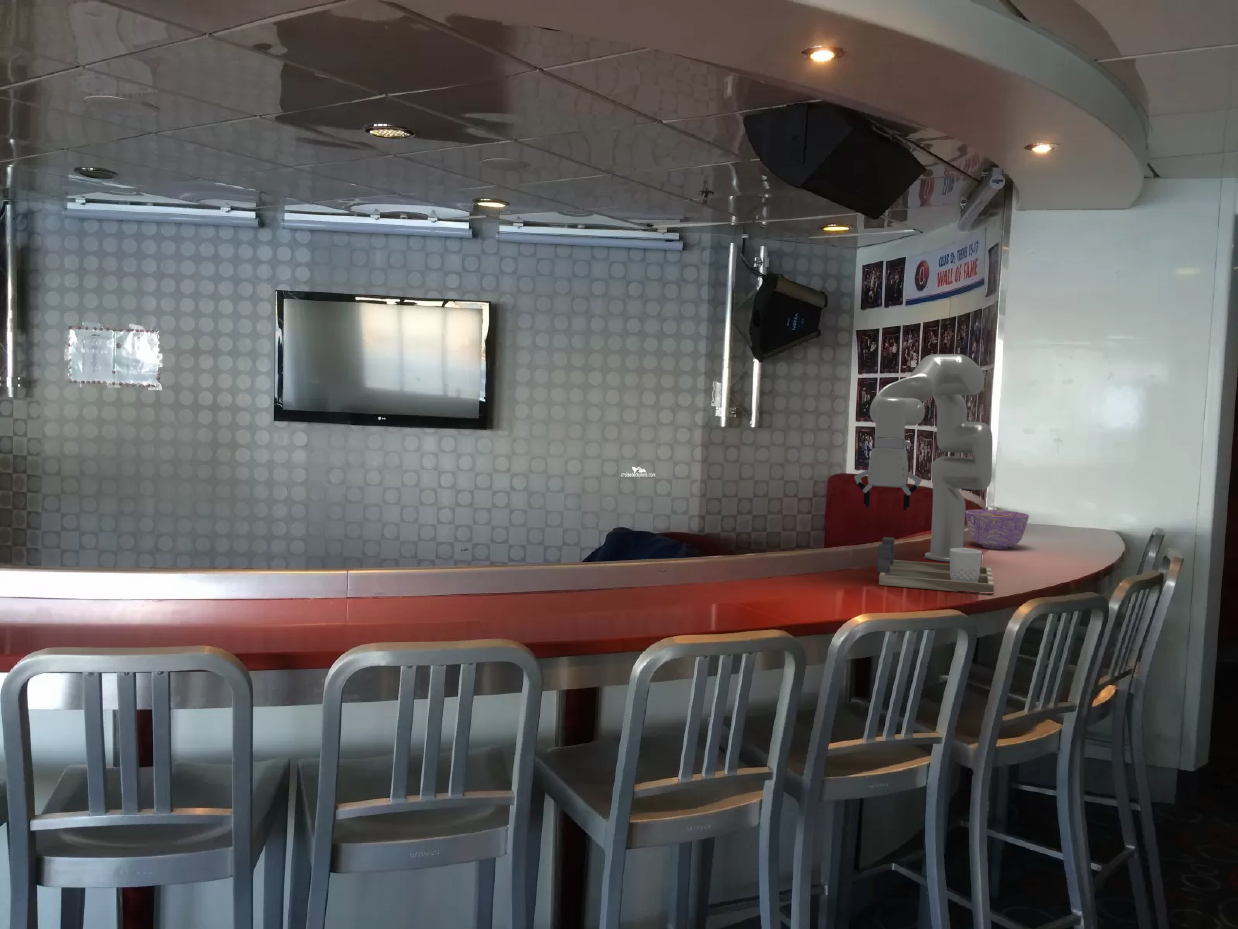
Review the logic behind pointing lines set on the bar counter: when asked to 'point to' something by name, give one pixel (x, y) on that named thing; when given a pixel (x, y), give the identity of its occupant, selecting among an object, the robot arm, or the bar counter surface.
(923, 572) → the glass sled
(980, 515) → the bowl of food
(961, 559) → the white cup
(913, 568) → the cube sled
